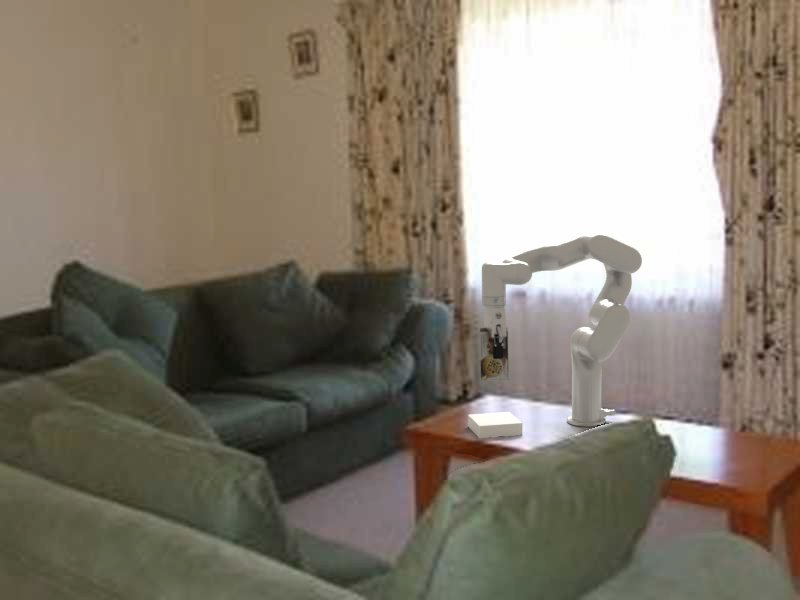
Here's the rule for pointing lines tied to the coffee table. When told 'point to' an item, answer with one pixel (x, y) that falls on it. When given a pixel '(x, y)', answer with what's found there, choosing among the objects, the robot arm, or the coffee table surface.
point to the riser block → (494, 424)
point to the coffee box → (488, 365)
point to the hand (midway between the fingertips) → (494, 355)
